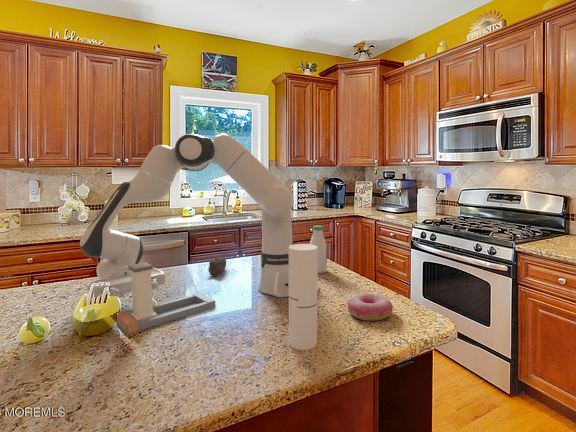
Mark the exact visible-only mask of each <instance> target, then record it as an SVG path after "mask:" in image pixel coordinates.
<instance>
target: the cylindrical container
mask: <svg viewBox="0 0 576 432" xmlns="http://www.w3.org/2000/svg"><path fill="white" fill-rule="evenodd" d="M317 262H318V247H317V246H316V245H311V244H310V243H295V244H292V245H290V246H289V296H288V344H289V346H290V347H291V348H293V349H295V350H300V351H308V350H311V349H313V348H316V346H317V345H318V343H317V342H318V292H317V284H318V273H317Z"/></svg>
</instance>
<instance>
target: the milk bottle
mask: <svg viewBox="0 0 576 432" xmlns="http://www.w3.org/2000/svg"><path fill="white" fill-rule="evenodd" d="M309 244H311V245H316V246H317V247H318V262H317V274H322V273H325V272H326V271H327V268H328V267H327V261H328V260H327V259H328V258H327V257H328V254H327V250H328V248H327V240H326V239H325V236H324V226H323V225H320V224H319V225H313V226H312V235H311V239H310V241H309Z"/></svg>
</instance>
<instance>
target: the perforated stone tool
mask: <svg viewBox="0 0 576 432" xmlns="http://www.w3.org/2000/svg"><path fill="white" fill-rule="evenodd" d="M208 263H209V266H208V270H207V271H208V272H209V275H210V276H211V277H219V276H220V275H221V274H222V273H224V271H225V269H226V266H227V260H226V258H225V257H222V256H221V257H217V258H214V259H211V261H209V262H208Z"/></svg>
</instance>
